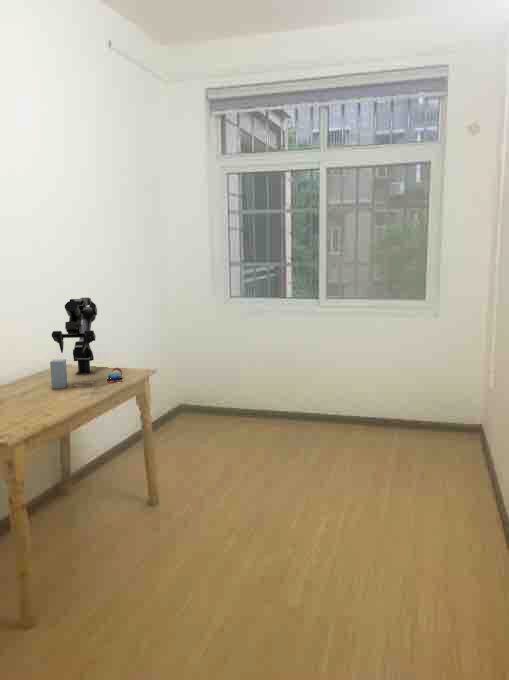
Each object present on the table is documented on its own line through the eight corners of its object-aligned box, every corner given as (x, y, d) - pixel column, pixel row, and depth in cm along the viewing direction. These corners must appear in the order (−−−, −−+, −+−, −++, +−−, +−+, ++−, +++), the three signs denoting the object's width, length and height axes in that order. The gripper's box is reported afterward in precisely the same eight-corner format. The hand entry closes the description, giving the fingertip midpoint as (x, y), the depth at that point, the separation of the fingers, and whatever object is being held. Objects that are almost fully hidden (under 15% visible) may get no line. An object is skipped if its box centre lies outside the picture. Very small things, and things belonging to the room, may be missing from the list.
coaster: (76, 382, 255) (75, 381, 255) (95, 382, 255) (95, 381, 255) (70, 387, 246) (70, 386, 246) (91, 387, 247) (91, 386, 246)
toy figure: (122, 386, 255) (125, 373, 269) (120, 376, 253) (124, 364, 268) (105, 388, 255) (110, 375, 269) (104, 378, 253) (108, 366, 267)
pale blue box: (54, 385, 250) (53, 359, 248) (67, 385, 251) (65, 359, 249) (51, 388, 246) (50, 361, 244) (64, 387, 246) (62, 361, 244)
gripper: (50, 314, 251) (46, 344, 244) (92, 313, 253) (89, 343, 245) (56, 326, 261) (52, 355, 254) (96, 325, 263) (94, 354, 255)
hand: (72, 352), depth 252 cm, fingers open, 9 cm apart
